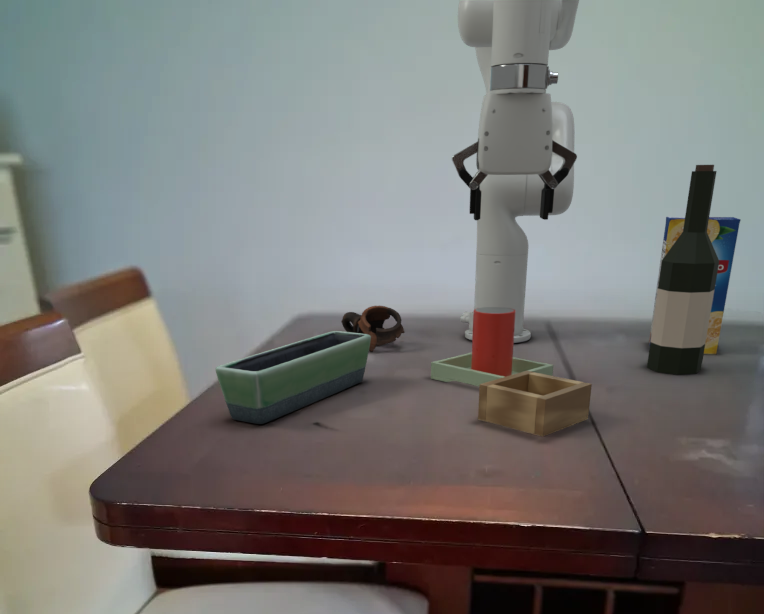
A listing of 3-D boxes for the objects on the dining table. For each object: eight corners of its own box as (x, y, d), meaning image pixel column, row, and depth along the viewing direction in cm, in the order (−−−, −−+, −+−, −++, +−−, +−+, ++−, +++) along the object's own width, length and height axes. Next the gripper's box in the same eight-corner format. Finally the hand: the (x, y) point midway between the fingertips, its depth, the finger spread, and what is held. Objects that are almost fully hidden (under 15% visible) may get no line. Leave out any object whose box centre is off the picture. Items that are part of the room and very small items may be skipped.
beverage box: (648, 343, 138) (665, 216, 129) (711, 346, 136) (734, 217, 127) (650, 351, 132) (669, 218, 123) (716, 354, 130) (740, 219, 121)
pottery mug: (405, 343, 143) (412, 309, 136) (391, 375, 137) (397, 340, 130) (346, 325, 143) (349, 290, 137) (330, 356, 138) (333, 321, 131)
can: (462, 376, 114) (465, 310, 110) (488, 369, 118) (491, 305, 114) (494, 383, 110) (498, 314, 106) (519, 376, 114) (524, 309, 110)
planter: (261, 430, 93) (257, 373, 90) (217, 421, 96) (212, 366, 93) (373, 381, 115) (373, 334, 112) (334, 375, 118) (333, 329, 115)
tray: (430, 378, 116) (430, 362, 115) (478, 366, 123) (478, 350, 122) (505, 396, 106) (506, 378, 105) (552, 381, 114) (553, 364, 112)
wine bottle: (705, 375, 116) (742, 164, 104) (649, 373, 118) (679, 164, 105) (696, 363, 123) (729, 164, 111) (643, 361, 125) (670, 165, 113)
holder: (477, 423, 95) (479, 384, 93) (524, 407, 101) (526, 370, 99) (542, 441, 88) (545, 399, 86) (587, 423, 94) (592, 383, 92)
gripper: (577, 84, 103) (565, 216, 110) (452, 86, 103) (448, 217, 111) (589, 79, 96) (575, 220, 103) (455, 81, 97) (451, 222, 104)
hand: (510, 219), depth 107 cm, fingers open, 9 cm apart
